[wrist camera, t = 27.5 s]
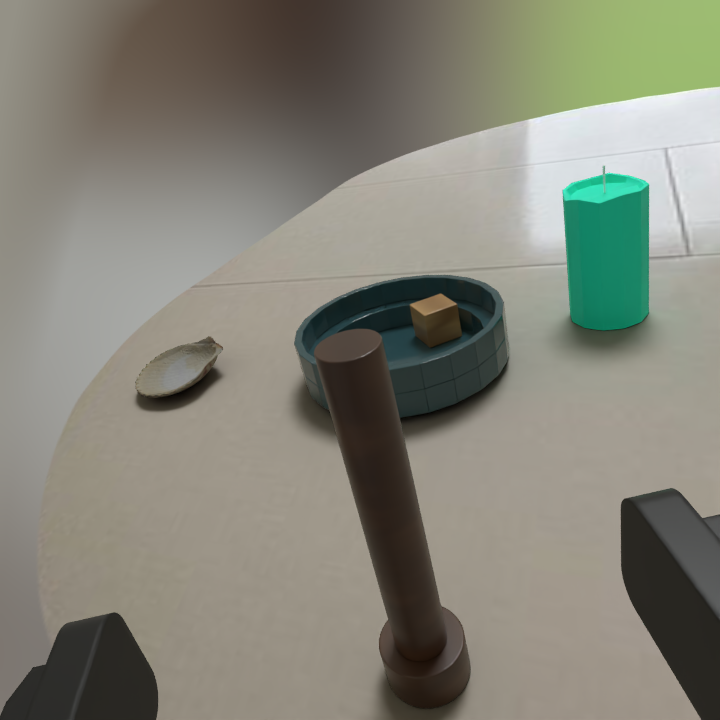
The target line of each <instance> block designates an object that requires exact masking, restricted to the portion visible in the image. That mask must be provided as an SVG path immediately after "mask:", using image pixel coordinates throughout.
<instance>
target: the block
mask: <svg viewBox="0 0 720 720" xmlns="http://www.w3.org/2000/svg"><path fill="white" fill-rule="evenodd" d="M410 310H411V315H412V321H413V326H414V331H415V335H416V336H417V337H418V338H419V339H420V340H421V341H423V342H424V343H425V344H426V345H427V346H429V347H430V348H431V347H434V346H437V345H440V344H442V343H445V342H448V341H450V340H453V339H456V338H458V337H461V336H462V332H461V326H460V319H459V313H458V306H457V304H456V303H455V302H453V301H452V300H450V299H449V298H447V297H446V296H444V295H442V294H438V295H435V296H432V297H429V298H427V299H424V300H421V301H418V302H415V303H412V304H410Z"/></svg>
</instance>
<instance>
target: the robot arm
mask: <svg viewBox="0 0 720 720" xmlns="http://www.w3.org/2000/svg"><path fill="white" fill-rule="evenodd" d="M621 569H622V575H623V580H624V584H625V587H626V590H627V593H628V595H629V598H630V600H631V602H632V604H633V606H634V608H635V610H636V611H637V613H638V615H639V616H640V618H641V620H642V621H643V623H644V625H645V626H646V628H647V630H648V631H649V633H650V635H651V636H652V638H653V640H654V641H655V643H656V645H657V646H658V648H659V650H660V651H661V653H662V655H663V656H664V658H665V660H666V661H667V663H668V665H669V666H670V668H671V670H672V671H673V673H674V675H675V676H676V678H677V680H678V681H679V683H680V685H681V686H682V688H683V690H684V691H685V693H686V695H687V696H688V698H689V700H690V701H691V703H692V705H693V706H694V708H695V710H696V711H697V713H698V715H699V716H700V718H701V720H720V515H715V516H711V517H706V518H702V517H701V516H700V515H699V514H698V513H697V511H696V510H695V509H694V508H693V507H692V506H691V504H690V503H689V502H688V501H687V500H686V499H685V497H684V496H683V495H682V494H681V493H680V492H679V491H677V490H675V489H673V488H670V489H666V490H661V491H657V492H652V493H648V494H644V495H639V496H635V497H630V498H626V499H624V500H623V501H622V503H621ZM157 711H158V690H157V683H156V679H155V676H154V673H153V671H152V669H151V667H150V665H149V663H148V662H147V660H146V658H145V656H144V655H143V653H142V651H141V649H140V648H139V646H138V644H137V642H136V641H135V639H134V637H133V635H132V633H131V632H130V630H129V628H128V626H127V625H126V623H125V621H124V620H123V618H122V617H121V616H120V615H119V614H118V613H110V614H105V615H101V616H96V617H92V618H88V619H83V620H79V621H74V622H70V623H67V624H65V625H64V626H63V627H62V628H61V629H60V631H59V633H58V635H57V637H56V640H55V642H54V645H53V647H52V650H51V652H50V655H49V658H48V660H47V663H46V665H42V666H38V667H33V668H32V670H31V671H30V672H29V673H28V675H27V676H26V677H25V679H24V680H23V682H22V683H21V684H20V685H19V686H18V688H17V689H16V690H15V692H14V693H13V694H12V696H11V697H10V698H9V700H8V701H7V702H6V704H5V706H4V709H3V711H2V713H1V716H0V720H156V717H157Z"/></svg>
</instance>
